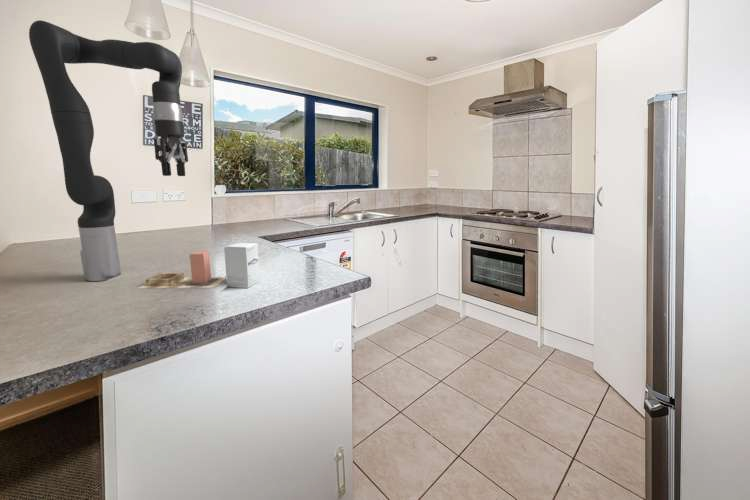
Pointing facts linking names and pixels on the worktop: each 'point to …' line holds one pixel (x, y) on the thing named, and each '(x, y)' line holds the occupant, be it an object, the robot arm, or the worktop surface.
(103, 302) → the worktop surface
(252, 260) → the supplement box
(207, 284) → the board
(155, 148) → the robot arm
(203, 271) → the block
